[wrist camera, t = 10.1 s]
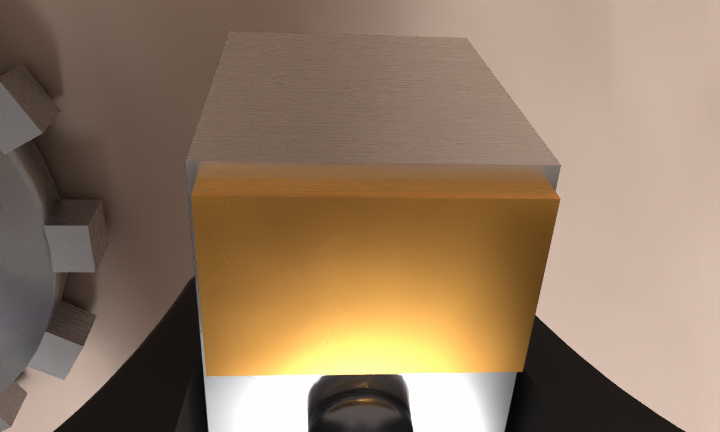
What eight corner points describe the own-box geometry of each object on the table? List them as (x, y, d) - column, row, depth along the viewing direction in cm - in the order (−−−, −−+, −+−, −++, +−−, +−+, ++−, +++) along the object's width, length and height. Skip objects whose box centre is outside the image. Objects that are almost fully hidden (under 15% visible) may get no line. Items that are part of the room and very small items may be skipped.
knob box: (415, 447, 17) (458, 690, 12) (248, 452, 16) (227, 703, 12) (466, 37, 12) (573, 182, 7) (229, 30, 11) (179, 178, 7)
